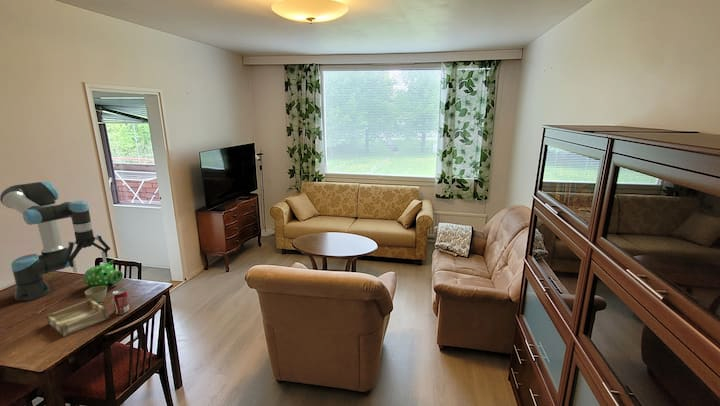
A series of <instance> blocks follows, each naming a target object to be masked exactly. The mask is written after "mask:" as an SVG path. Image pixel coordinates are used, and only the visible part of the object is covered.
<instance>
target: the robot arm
mask: <svg viewBox="0 0 720 406" xmlns="http://www.w3.org/2000/svg"><path fill="white" fill-rule="evenodd" d="M57 200H59V193H58V191H57V188H56V187H55V186H54V185H53V183H52V182H50V181H36V182H28V183H22V184H15V185H11V186H9V187H7V188H5V189H4V190H3V191H2V192H1V194H0V202H1V204H2V205H3V206H5V207H6V208H9V209H13V210H15V211H17V212H18V213H19V214H21V215H22V217H23V221H24V222H25V224H27V225H29V226H33V225H37V227H38V232H39V235H40V239H41V244H42V247H43V248H42V250H41V251H40V253H41V254H40V255H39V254H38V253H30V254H25V255H23V256H19V257H17V258H16V259H14V260H13V261H11V272H12V275H13V277H14V282H15V291H14V299H15V301H17V302H26V301H32V300H36V299H40V298H42V297H45V296H47V294H49V293H51V287H50V286H49V284H48V283H47V282H46V280H45V279H44V275H46V274H50V273H53V272H57V271H60V270H64V269H66V268H69V267H70V268H72V272H74V273H75V274H76V273H78V270H77V269H78V268H77V265H76V261H75V258H76V257H77V255H78V254H79V253H80V251H82V250H83V249H85V248H89V247H91V246H93V247H95V248H97V249H98V250H101V251H100V252H101V258H102V263H103V264H107V263H108V261H107V258H108V251H110V250H111V247H110V246H109V245H108V244H107V243H106V242H105V241H104V240H103V239H102V235H99V234H97V235H96V236H95V234H94V231H93V225H92V221H91V215H90V210H89V209H90V206H89V205H88V201H86V200H73V201H64V202H61V203H60V204H56V201H57ZM68 218H70V219H71V223H72V228H73V231H74V238H75V241H69V242H68V246H67V245H65V244H63V242H62V238H61V233H60V231H59V230H60V229H59V226H58V221H59V220H64V219H68ZM57 220H58V221H57ZM95 241H98V242H99V243H100V244H101V245H102V246H103V247H102V246H101V245H99V244H98V243H96V242H95ZM75 245H77V246H76V247H75ZM74 247H75V249H74ZM73 249H74V251H73Z"/></svg>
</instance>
